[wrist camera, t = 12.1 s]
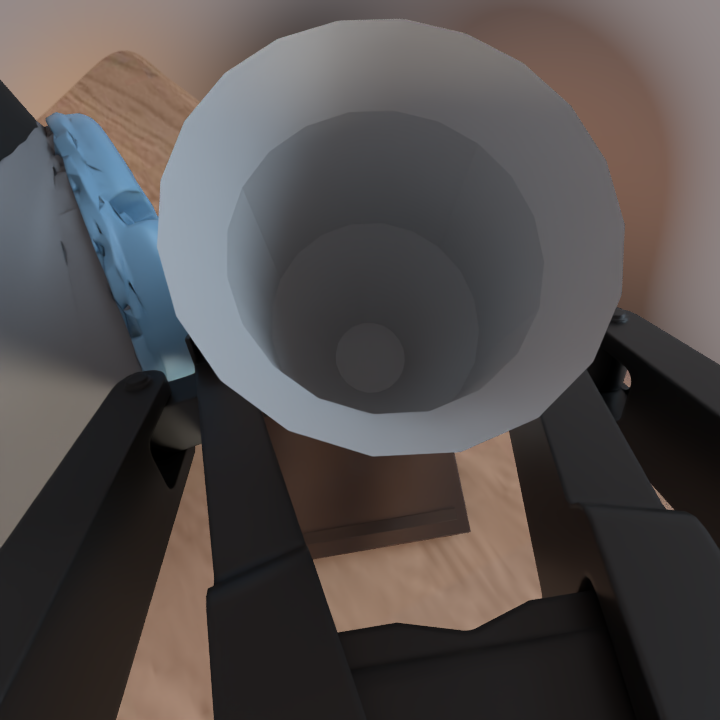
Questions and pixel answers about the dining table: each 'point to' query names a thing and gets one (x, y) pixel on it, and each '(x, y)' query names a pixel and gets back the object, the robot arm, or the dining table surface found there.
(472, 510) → the dining table surface
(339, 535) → the serving board
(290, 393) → the chalice
